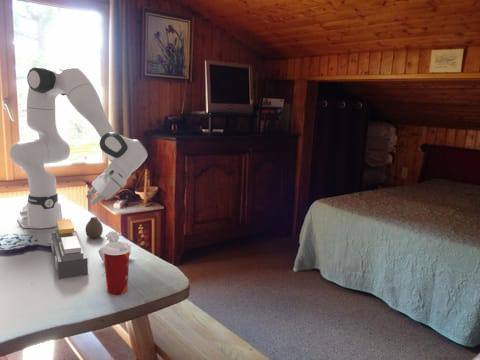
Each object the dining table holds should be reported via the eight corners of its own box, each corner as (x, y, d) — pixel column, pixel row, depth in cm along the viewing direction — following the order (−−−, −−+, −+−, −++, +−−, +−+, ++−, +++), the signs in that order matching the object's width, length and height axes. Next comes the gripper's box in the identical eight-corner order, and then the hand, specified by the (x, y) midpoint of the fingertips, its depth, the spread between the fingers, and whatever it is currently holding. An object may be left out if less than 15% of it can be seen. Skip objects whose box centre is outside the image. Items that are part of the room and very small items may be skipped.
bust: (129, 261, 154) (123, 233, 158) (135, 254, 149) (129, 226, 153) (98, 267, 147) (92, 238, 151) (103, 261, 142) (96, 231, 146)
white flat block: (61, 241, 142) (60, 237, 141) (76, 240, 144) (76, 235, 144) (64, 254, 131) (64, 249, 131) (80, 251, 134) (80, 247, 134)
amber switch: (56, 224, 156) (56, 220, 156) (70, 222, 158) (70, 219, 158) (59, 233, 146) (59, 229, 145) (74, 232, 148) (74, 228, 148)
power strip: (50, 247, 157) (50, 228, 156) (76, 244, 162) (76, 225, 160) (57, 279, 131) (56, 256, 130) (87, 274, 136) (87, 252, 134)
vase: (97, 241, 167) (96, 221, 165) (82, 239, 168) (81, 219, 167) (105, 235, 174) (105, 216, 172) (91, 234, 175) (91, 214, 173)
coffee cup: (135, 291, 127) (135, 246, 124) (112, 299, 120) (111, 252, 117) (121, 282, 132) (121, 239, 129) (97, 290, 126) (97, 244, 123)
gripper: (104, 165, 165) (79, 189, 162) (114, 174, 147) (87, 202, 144) (115, 175, 168) (91, 199, 165) (127, 185, 150) (100, 213, 147)
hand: (89, 200), depth 154 cm, fingers open, 8 cm apart
